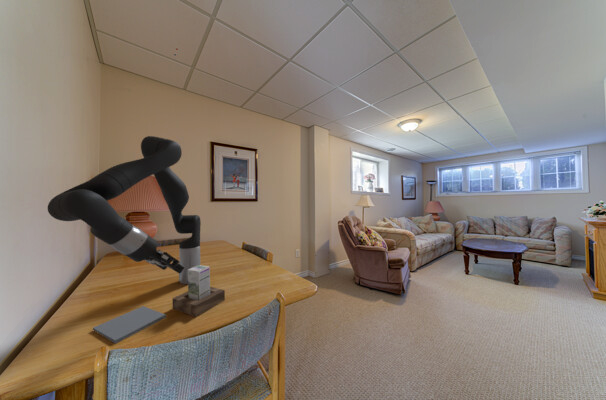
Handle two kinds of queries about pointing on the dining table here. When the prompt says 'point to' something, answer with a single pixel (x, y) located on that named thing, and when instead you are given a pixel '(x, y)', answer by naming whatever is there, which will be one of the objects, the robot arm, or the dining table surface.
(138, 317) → the mat
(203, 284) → the syrup box
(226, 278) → the dining table surface
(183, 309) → the socket block
